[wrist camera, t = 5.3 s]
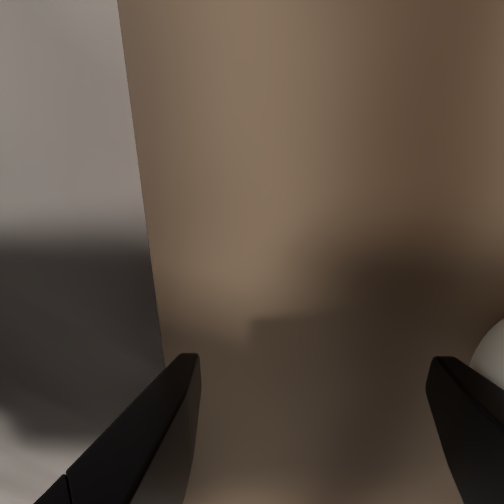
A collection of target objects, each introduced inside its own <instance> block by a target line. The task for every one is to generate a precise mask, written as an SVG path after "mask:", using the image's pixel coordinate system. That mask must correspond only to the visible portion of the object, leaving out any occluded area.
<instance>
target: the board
mask: <svg viewBox="0 0 504 504" xmlns="http://www.w3.org/2000/svg"><path fill="white" fill-rule="evenodd" d="M117 2H118V10H119V18H120V26H121V33H122V41H123V49H124V56H125V64H126V72H127V79H128V87H129V95H130V103H131V110H132V118H133V126H134V133H135V141H136V149H137V156H138V164H139V172H140V180H141V187H142V195H143V203H144V210H145V218H146V226H147V233H148V241H149V249H150V257H151V264H152V272H153V280H154V287H155V295H156V303H157V310H158V318H159V326H160V334H161V341H162V349H163V357H164V364H165V368H166V367H167V366H168V365H169V364H170V363H171V362H172V361H173V360H174V359H175V358H176V357H177V356H178V355H179V354H180V353H197V354H198V355H199V357H200V367H201V380H202V389H201V399H200V407H199V416H198V425H197V433H196V442H195V450H194V457H193V462H192V467H191V472H190V476H189V481H188V485H187V489H186V493H185V498H184V502H183V504H464V503H463V501H462V498H461V496H460V493H459V491H458V489H457V486H456V484H455V482H454V479H453V477H452V474H451V472H450V469H449V467H448V464H447V461H446V458H445V455H444V452H443V449H442V446H441V442H440V439H439V436H438V432H437V429H436V426H435V422H434V419H433V416H432V413H431V409H430V406H429V403H428V399H427V396H426V391H425V385H426V380H427V376H428V372H429V368H430V364H431V361H432V359H433V357H435V356H453V357H456V358H457V359H459V360H460V361H462V362H463V363H465V364H466V365H468V366H469V365H470V362H471V359H472V356H473V354H474V352H475V350H476V348H477V347H478V345H479V343H480V342H481V340H482V339H483V338H484V336H485V335H486V334H487V333H488V331H489V330H490V329H491V328H492V327H493V326H494V325H496V324H497V323H498V322H499V321H501V320H502V319H503V318H504V0H117Z"/></svg>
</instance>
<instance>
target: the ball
mask: <svg viewBox="0 0 504 504" xmlns="http://www.w3.org/2000/svg"><path fill="white" fill-rule="evenodd" d="M469 367H471V368H472V369H474V370H475V371H476V372H478V373H479V374H481V375H482V376H484V377H485V378H487V379H488V380H490V381H491V382H493V383H494V384H496V385H497V386H499V387H500V388H502V389H503V390H504V318H503V319H502V320H501V321H499V322H498V323H497V324H496V325H494V326H493V327H492V328H491V329H490V330H489V331H488V333H487V334H486V335H485V336H484V338H483V339H482V340H481V342H480V343H479V345H478V347H477V348H476V350H475V352H474V354H473V356H472V359H471V362H470V365H469Z"/></svg>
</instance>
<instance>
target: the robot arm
mask: <svg viewBox="0 0 504 504" xmlns="http://www.w3.org/2000/svg"><path fill="white" fill-rule="evenodd" d="M201 389H202V380H201V367H200V357H199V355H198V354H197V353H180V354H179V355H178V356H177V357H176V358H175V359H174V360H173V361H172V362H171V363H170V364H169V365H168V366H167V367H166V368H165V369H164V370H163V371H162V372H161V373H160V374H159V375H158V376H157V377H156V378H155V380H154V381H153V382H152V383H151V384H150V385H149V386H148V387H147V388H146V389H145V390H144V391H143V392H142V393H141V394H140V395H139V396H138V397H137V398H136V399H135V400H134V401H133V402H132V403H131V404H130V405H129V406H128V407H127V408H126V410H125V411H124V412H123V413H122V414H121V415H120V416H119V417H118V418H117V419H116V420H115V421H114V422H113V423H112V424H111V425H110V426H109V427H108V428H107V429H106V430H105V431H104V432H103V433H102V434H101V435H100V436H99V437H98V438H97V439H96V441H95V442H94V443H93V444H92V445H91V446H90V447H89V448H88V449H87V450H86V451H85V452H84V453H83V454H82V455H81V456H80V457H79V458H78V459H77V460H76V461H75V462H74V463H73V464H72V465H71V466H70V467H69V468H68V469H67V471H66V475H65V474H63V475H61V476H60V478H59V479H58V480H57V481H56V482H55V483H54V484H53V485H52V486H51V487H50V488H49V489H48V490H47V491H46V492H45V493H44V494H43V495H42V496H41V497H40V498H39V499H38V500H37V501H36V502H35V503H34V504H183V502H184V498H185V493H186V489H187V485H188V481H189V476H190V472H191V467H192V462H193V457H194V450H195V442H196V433H197V425H198V416H199V407H200V399H201ZM425 391H426V396H427V399H428V403H429V406H430V409H431V413H432V416H433V419H434V422H435V426H436V429H437V432H438V436H439V439H440V442H441V446H442V449H443V452H444V455H445V458H446V461H447V464H448V467H449V469H450V472H451V474H452V477H453V479H454V482H455V484H456V486H457V489H458V491H459V493H460V496H461V498H462V501H463V503H464V504H504V390H503V389H502V388H500V387H499V386H497V385H496V384H494V383H493V382H491V381H490V380H488V379H487V378H485V377H484V376H482V375H481V374H479V373H478V372H476V371H475V370H474V369H472V368H471V367H469V366H468V365H466V364H465V363H463V362H462V361H460V360H459V359H457V358H456V357H453V356H435V357H433V359H432V361H431V364H430V368H429V372H428V376H427V380H426V385H425Z"/></svg>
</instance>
